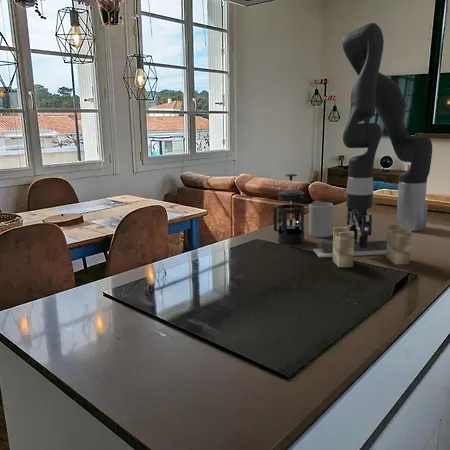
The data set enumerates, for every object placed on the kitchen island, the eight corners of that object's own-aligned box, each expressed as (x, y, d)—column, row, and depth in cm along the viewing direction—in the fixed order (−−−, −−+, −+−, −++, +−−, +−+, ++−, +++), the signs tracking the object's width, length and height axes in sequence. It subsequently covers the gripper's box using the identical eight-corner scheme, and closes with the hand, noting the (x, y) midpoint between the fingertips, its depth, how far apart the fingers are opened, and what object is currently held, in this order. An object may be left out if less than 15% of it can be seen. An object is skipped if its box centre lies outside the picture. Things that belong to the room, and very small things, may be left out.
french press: (311, 239, 146) (312, 173, 140) (298, 246, 139) (298, 176, 133) (282, 235, 153) (281, 171, 147) (267, 241, 146) (266, 175, 140)
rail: (390, 246, 133) (390, 237, 132) (394, 249, 130) (395, 240, 129) (321, 250, 132) (321, 241, 131) (323, 253, 129) (324, 243, 128)
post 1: (346, 259, 124) (347, 226, 122) (353, 266, 118) (354, 232, 116) (332, 260, 124) (333, 227, 121) (338, 267, 118) (339, 232, 116)
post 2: (399, 257, 125) (401, 224, 122) (409, 263, 119) (411, 229, 116) (386, 257, 124) (388, 224, 122) (395, 264, 119) (397, 229, 116)
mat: (393, 246, 135) (394, 244, 135) (404, 252, 128) (404, 251, 128) (313, 250, 134) (313, 248, 134) (319, 257, 127) (319, 255, 127)
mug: (333, 237, 148) (334, 206, 145) (308, 237, 149) (309, 206, 147) (331, 229, 159) (332, 200, 156) (308, 228, 161) (309, 200, 158)
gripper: (382, 195, 120) (379, 249, 124) (363, 187, 134) (361, 237, 137) (355, 196, 119) (354, 251, 123) (340, 188, 133) (338, 238, 137)
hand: (357, 243), depth 130 cm, fingers open, 8 cm apart
